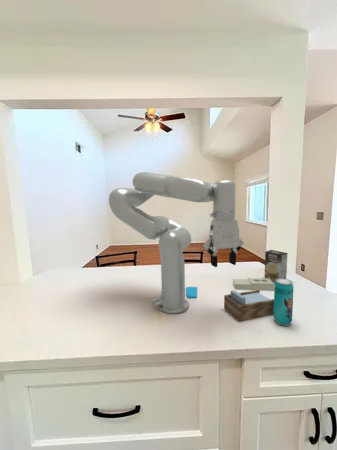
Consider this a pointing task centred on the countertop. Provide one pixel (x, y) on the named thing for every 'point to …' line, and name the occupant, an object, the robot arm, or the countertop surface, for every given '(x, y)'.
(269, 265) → the coffee box
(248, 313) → the walnut box
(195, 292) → the sponge
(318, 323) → the countertop surface
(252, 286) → the electrical outlet
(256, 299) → the cover plate
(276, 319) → the beverage can
